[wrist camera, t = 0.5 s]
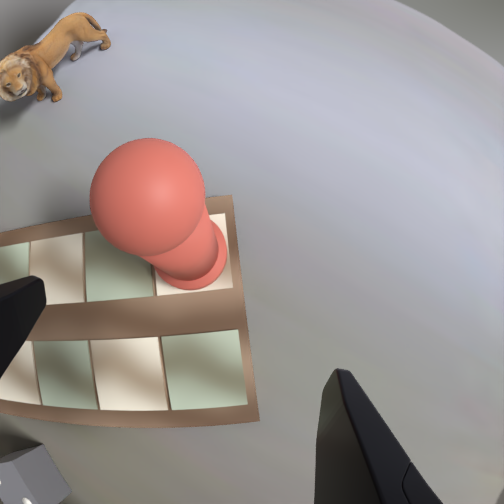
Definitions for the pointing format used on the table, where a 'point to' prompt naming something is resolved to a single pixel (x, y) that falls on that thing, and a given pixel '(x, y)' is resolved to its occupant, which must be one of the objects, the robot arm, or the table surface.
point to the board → (127, 334)
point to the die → (31, 478)
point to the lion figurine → (47, 58)
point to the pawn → (158, 212)
